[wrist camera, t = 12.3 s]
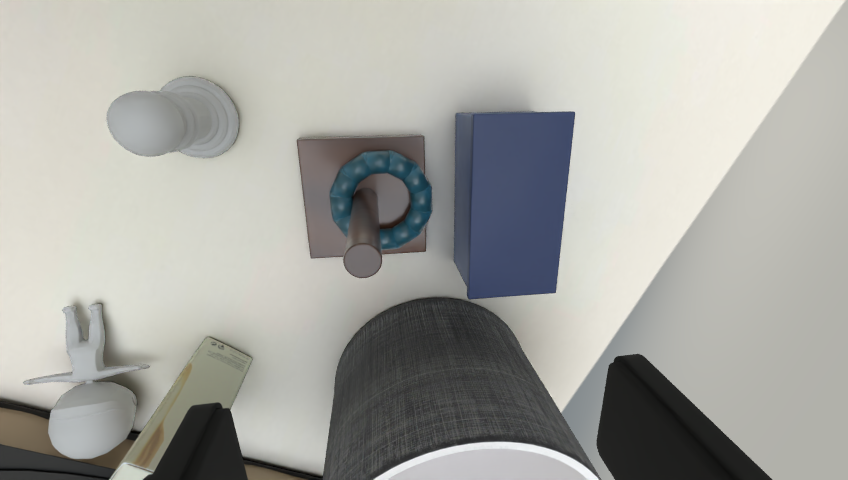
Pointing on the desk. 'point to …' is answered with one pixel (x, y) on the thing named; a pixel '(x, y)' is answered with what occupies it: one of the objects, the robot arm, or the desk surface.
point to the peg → (356, 199)
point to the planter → (445, 402)
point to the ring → (396, 167)
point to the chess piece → (175, 119)
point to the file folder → (63, 476)
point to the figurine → (89, 395)
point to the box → (510, 200)
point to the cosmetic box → (186, 404)
